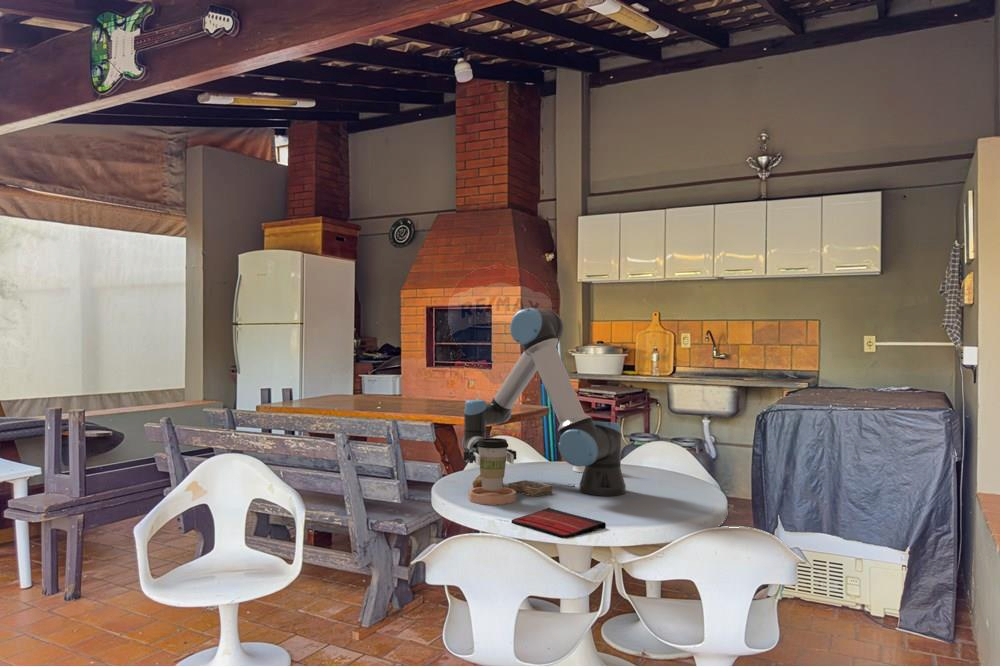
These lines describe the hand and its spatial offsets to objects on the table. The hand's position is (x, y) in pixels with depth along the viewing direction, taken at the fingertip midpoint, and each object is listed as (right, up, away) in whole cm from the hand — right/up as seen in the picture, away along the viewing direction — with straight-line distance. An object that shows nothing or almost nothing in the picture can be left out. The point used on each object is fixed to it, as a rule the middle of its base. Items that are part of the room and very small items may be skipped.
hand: (495, 459), depth 211 cm
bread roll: (-3, -14, +17) cm, 22 cm away
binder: (+16, -13, -26) cm, 34 cm away
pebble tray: (+11, -13, +16) cm, 23 cm away
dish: (-1, -13, +4) cm, 14 cm away
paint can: (+33, -15, +55) cm, 66 cm away
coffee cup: (-1, -10, +4) cm, 11 cm away
